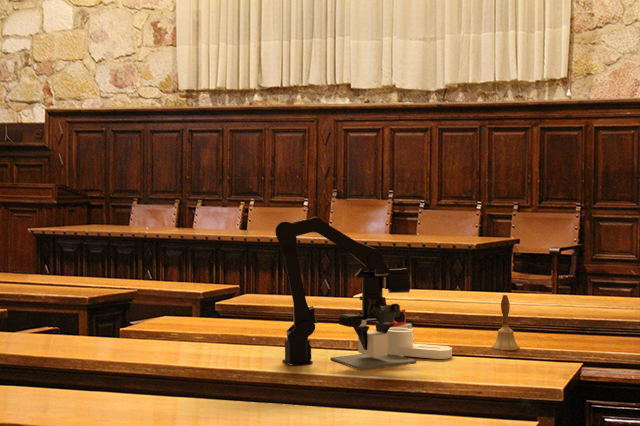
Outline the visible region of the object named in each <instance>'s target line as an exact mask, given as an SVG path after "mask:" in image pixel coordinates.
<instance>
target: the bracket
mask: <svg viewBox="0 0 640 426" xmlns="http://www.w3.org/2000/svg"><path fill="white" fill-rule="evenodd" d="M414 333H415V332H414V329H413V328H412V329H408V328H390V329H389V330H388V332H387V354H390V355H399V356H402V357H413V358H422V359H423V358H427V359H437V360H446V359H450V358H452V357H453V347H451V346H447V345H435V344H424V343H414Z"/></svg>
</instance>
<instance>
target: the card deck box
mask: <svg viewBox="0 0 640 426" xmlns="http://www.w3.org/2000/svg"><path fill="white" fill-rule="evenodd" d="M357 340H358V341H357V343H358V344H357V345H358V346H357V352H358V354H365V355H368V356H371V357H380V356H387V334H386V333H382V332H378V331H376V330H374V329H368V331H367V340H368V344H367V350H364V348H363V346H362V344H361V341H360V339H359V337H358V336H357Z"/></svg>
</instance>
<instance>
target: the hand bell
mask: <svg viewBox="0 0 640 426" xmlns="http://www.w3.org/2000/svg"><path fill="white" fill-rule="evenodd" d="M510 307H511V303H510V301H509V298H508V294H503V295H502V298H501V301H500V311H501V314H502V327H501V328H500V329H498V330H497V337H496V339H495V342H494V343H493V344H492V345H491V348H492V349H494V350H498V351H516V350H520V349H521V348H520V345H519V344H517V341H516V339H515V336H514V335H515V334H514V330H513V329H511V328H510V326H509V313H510V309H511V308H510Z"/></svg>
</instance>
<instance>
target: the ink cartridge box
mask: <svg viewBox="0 0 640 426" xmlns="http://www.w3.org/2000/svg"><path fill="white" fill-rule="evenodd" d="M400 311H402V312H403V313H404V314H405V322H395V320H394V322H392V323H394V324H395V325H394V326H392V327H391V328H408V329H412V330H413V324H412V323H407V316H406V314H407V313H406V308H405V309H400Z"/></svg>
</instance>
